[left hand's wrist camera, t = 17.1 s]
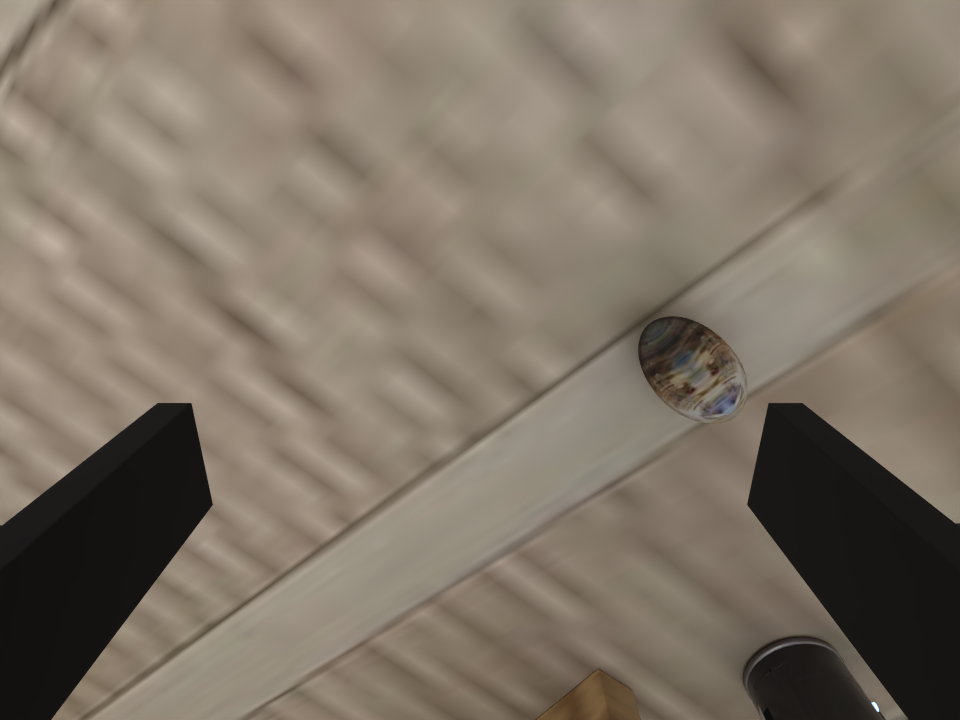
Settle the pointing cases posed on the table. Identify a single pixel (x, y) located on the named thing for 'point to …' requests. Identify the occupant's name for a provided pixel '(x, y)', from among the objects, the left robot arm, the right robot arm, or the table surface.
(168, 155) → the table surface
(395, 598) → the table surface
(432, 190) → the table surface
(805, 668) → the right robot arm
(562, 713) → the bar
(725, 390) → the seashell
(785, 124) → the table surface
